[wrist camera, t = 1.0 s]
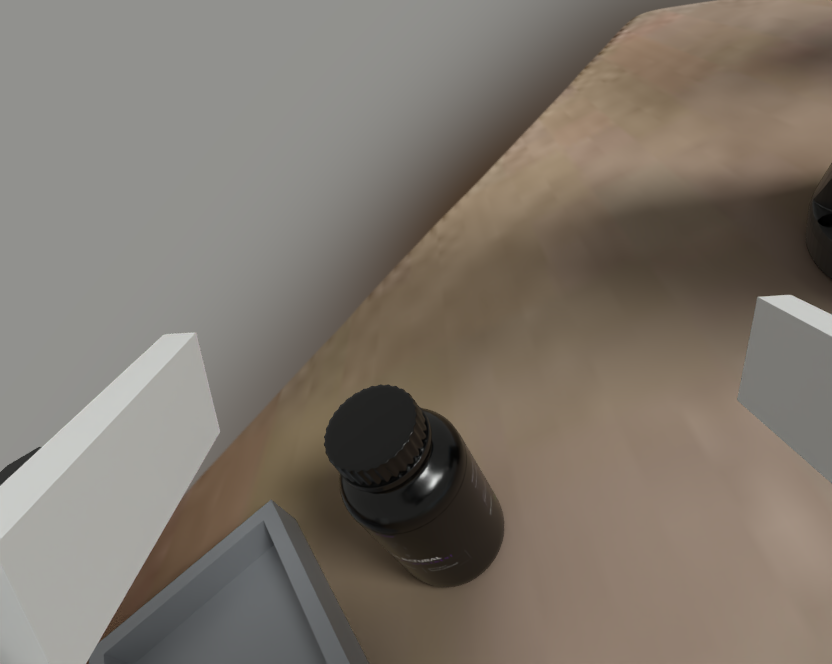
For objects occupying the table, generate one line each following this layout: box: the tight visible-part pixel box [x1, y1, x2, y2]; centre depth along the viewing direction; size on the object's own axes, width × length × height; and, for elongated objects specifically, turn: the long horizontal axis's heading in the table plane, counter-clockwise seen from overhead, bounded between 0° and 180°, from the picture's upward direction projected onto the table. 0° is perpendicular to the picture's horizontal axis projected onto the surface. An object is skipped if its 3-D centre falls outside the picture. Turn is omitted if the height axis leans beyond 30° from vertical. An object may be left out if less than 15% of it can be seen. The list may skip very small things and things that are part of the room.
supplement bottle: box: [324, 385, 504, 587], centre depth 28 cm, size 7×7×12 cm
